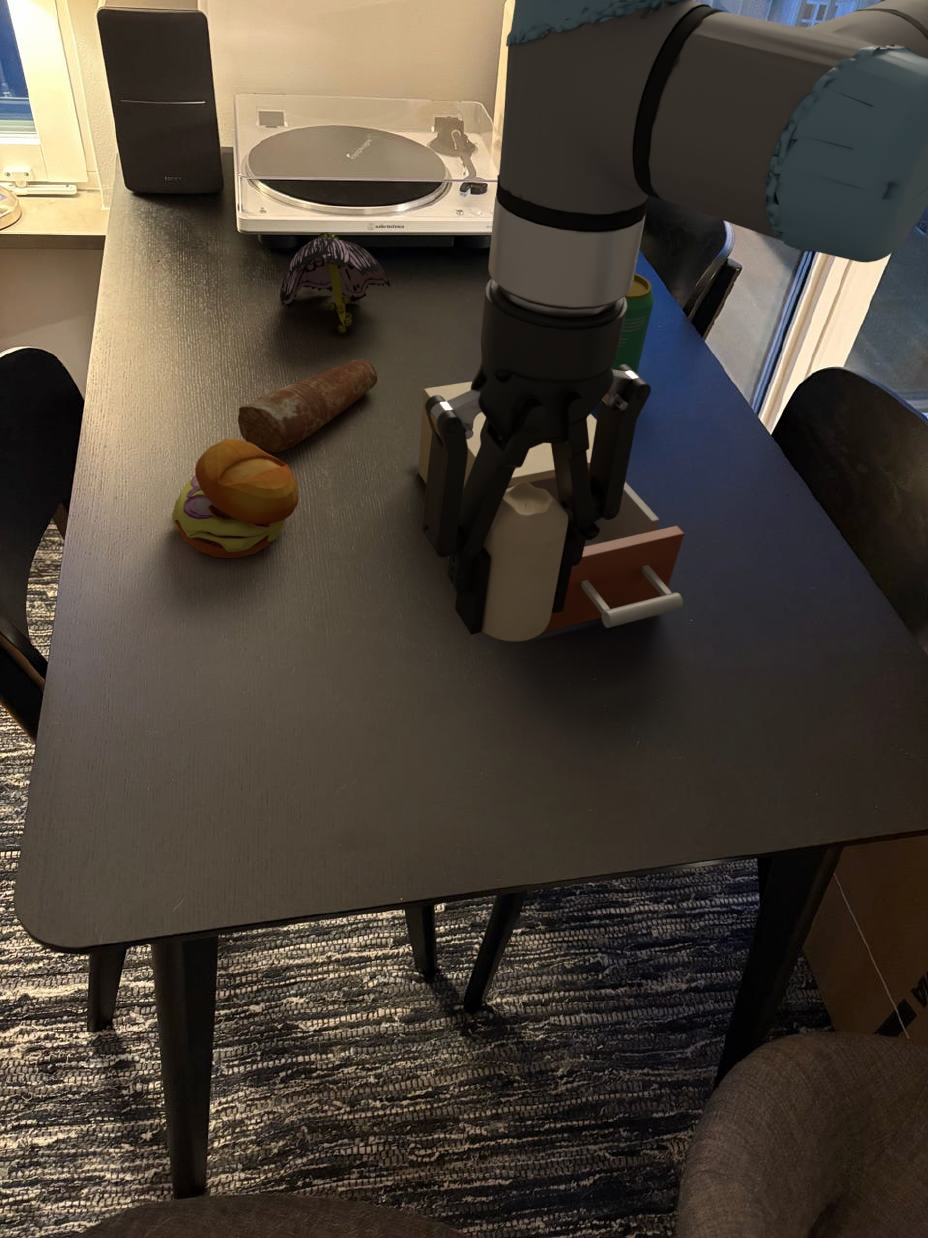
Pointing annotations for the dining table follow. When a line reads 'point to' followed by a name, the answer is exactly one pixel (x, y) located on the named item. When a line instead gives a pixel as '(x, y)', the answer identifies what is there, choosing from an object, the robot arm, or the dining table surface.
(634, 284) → the beverage can
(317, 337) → the dining table surface
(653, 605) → the drawer
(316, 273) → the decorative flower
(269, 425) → the brown sausage
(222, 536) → the cheeseburger
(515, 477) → the small drawer cabinet
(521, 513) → the candle
